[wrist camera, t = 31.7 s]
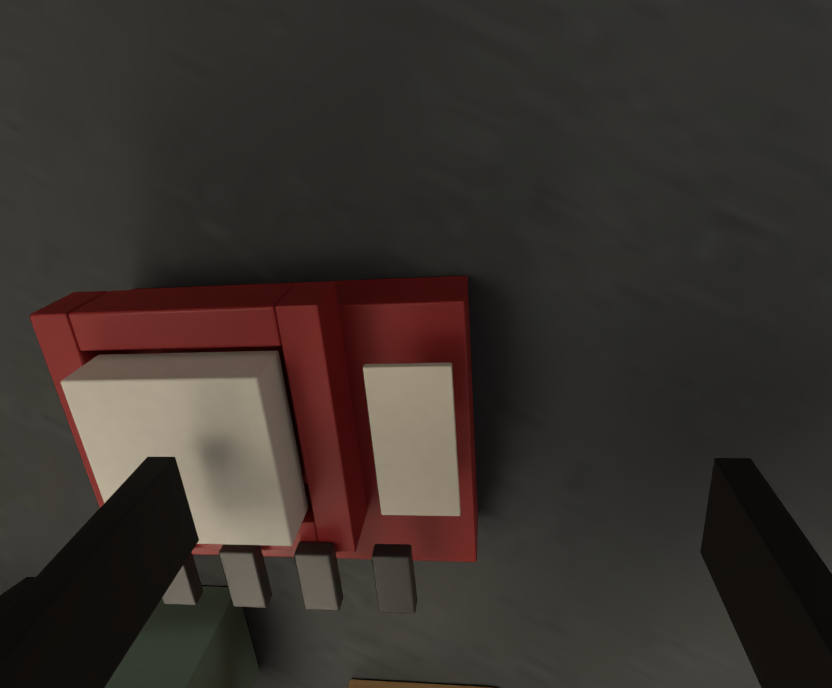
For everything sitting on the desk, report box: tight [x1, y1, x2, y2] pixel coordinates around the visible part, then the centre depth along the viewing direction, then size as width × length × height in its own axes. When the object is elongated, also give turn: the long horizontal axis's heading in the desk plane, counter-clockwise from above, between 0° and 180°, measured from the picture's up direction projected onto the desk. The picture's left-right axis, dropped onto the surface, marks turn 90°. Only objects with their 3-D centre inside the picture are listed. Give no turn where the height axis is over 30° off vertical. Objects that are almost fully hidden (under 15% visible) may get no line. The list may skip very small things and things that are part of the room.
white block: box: [61, 351, 308, 546], centre depth 17 cm, size 6×6×2 cm
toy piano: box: [30, 276, 478, 562], centre depth 20 cm, size 11×12×4 cm
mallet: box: [105, 586, 259, 688], centre depth 26 cm, size 6×16×6 cm, turn 95°
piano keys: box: [162, 362, 461, 614], centre depth 18 cm, size 9×10×1 cm
